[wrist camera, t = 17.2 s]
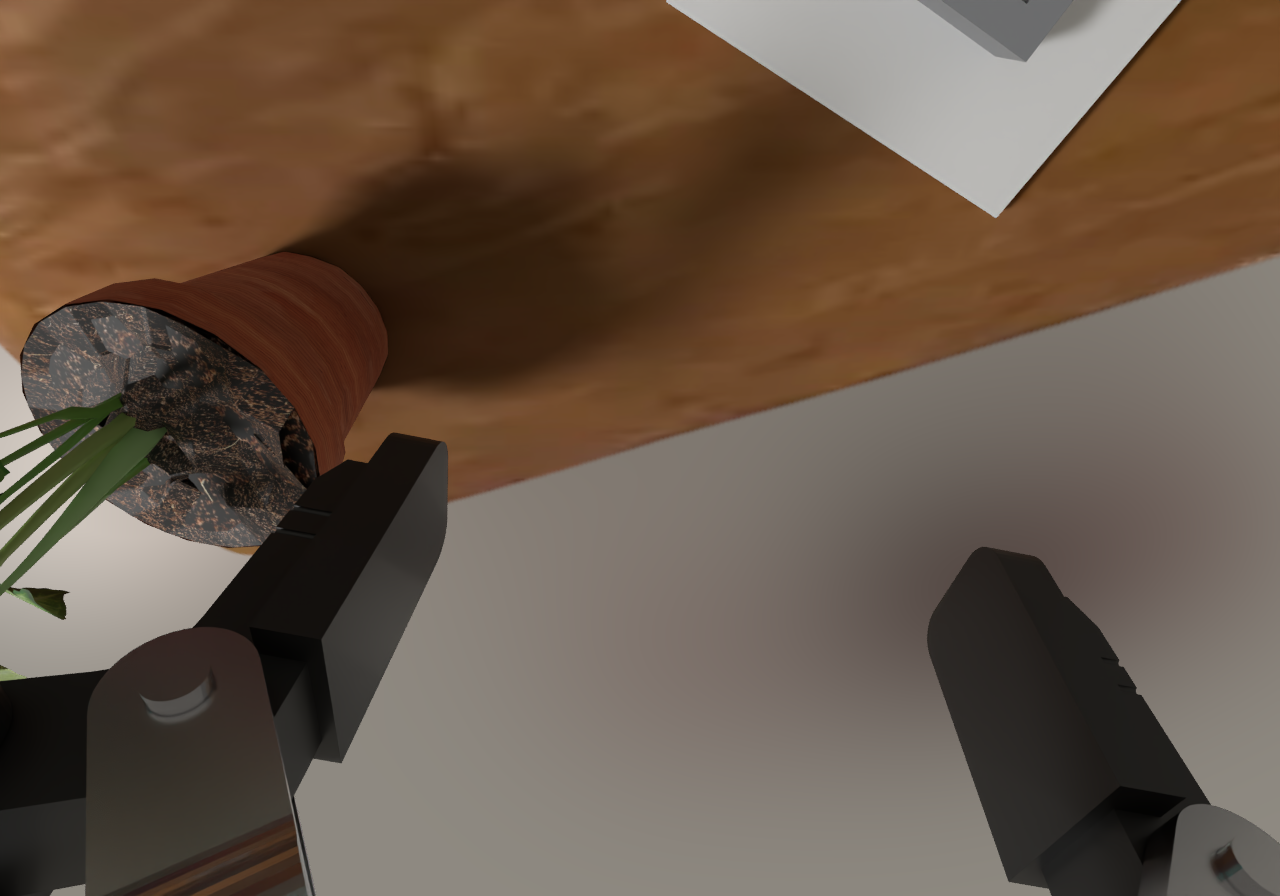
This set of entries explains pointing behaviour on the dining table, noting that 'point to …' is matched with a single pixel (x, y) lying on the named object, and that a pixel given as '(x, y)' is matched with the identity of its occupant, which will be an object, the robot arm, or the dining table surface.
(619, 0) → the dining table surface
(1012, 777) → the robot arm
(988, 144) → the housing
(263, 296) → the potted plant
